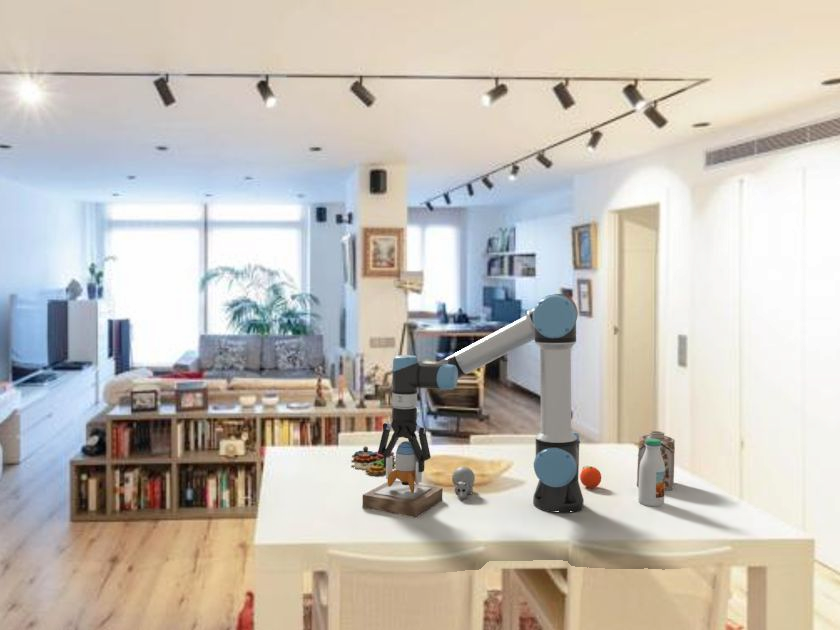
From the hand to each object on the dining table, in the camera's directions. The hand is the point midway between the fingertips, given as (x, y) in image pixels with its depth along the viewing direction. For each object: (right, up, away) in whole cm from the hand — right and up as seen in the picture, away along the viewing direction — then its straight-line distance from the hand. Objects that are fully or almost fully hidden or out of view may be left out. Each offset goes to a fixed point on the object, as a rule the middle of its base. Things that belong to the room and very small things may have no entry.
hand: (403, 480), depth 226 cm
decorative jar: (+84, -8, +26) cm, 89 cm away
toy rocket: (0, -2, 0) cm, 2 cm away
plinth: (0, -7, 0) cm, 7 cm away
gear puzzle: (-12, -5, +46) cm, 48 cm away
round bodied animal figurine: (+18, -7, +11) cm, 23 cm away
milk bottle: (+77, -9, +5) cm, 77 cm away
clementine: (+61, -7, +22) cm, 65 cm away
